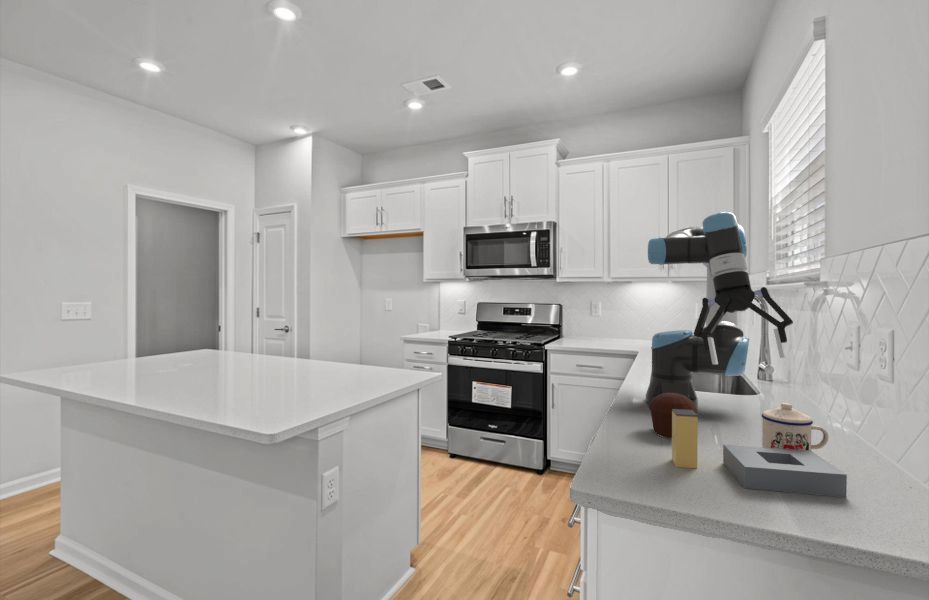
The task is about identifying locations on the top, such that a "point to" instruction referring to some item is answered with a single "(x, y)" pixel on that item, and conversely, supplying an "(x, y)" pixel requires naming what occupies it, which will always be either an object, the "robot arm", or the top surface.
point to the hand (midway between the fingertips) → (747, 361)
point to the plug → (684, 438)
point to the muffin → (667, 411)
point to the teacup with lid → (789, 429)
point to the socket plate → (784, 470)
